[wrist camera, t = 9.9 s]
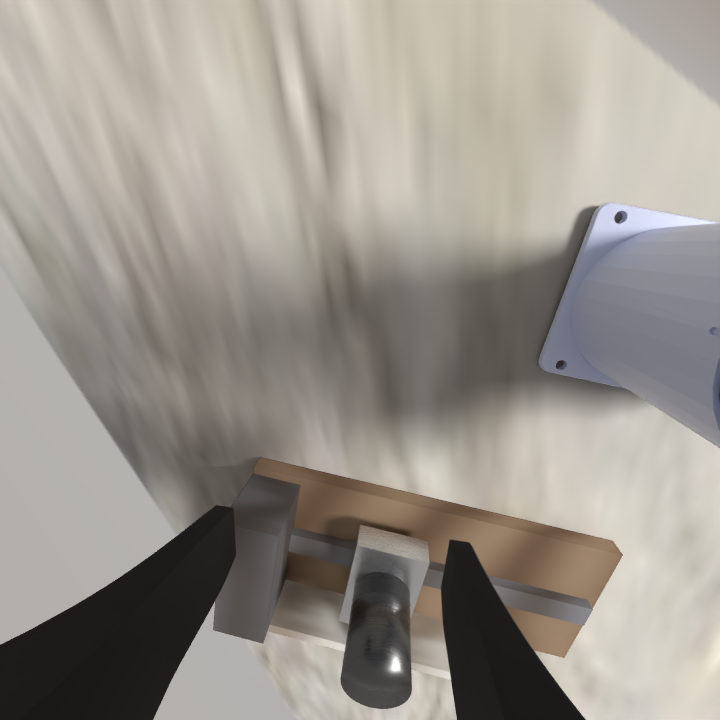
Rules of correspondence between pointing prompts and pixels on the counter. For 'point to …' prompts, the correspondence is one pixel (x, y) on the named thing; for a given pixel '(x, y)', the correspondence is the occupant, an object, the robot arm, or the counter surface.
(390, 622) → the gauge slider
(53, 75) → the counter surface
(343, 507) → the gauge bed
